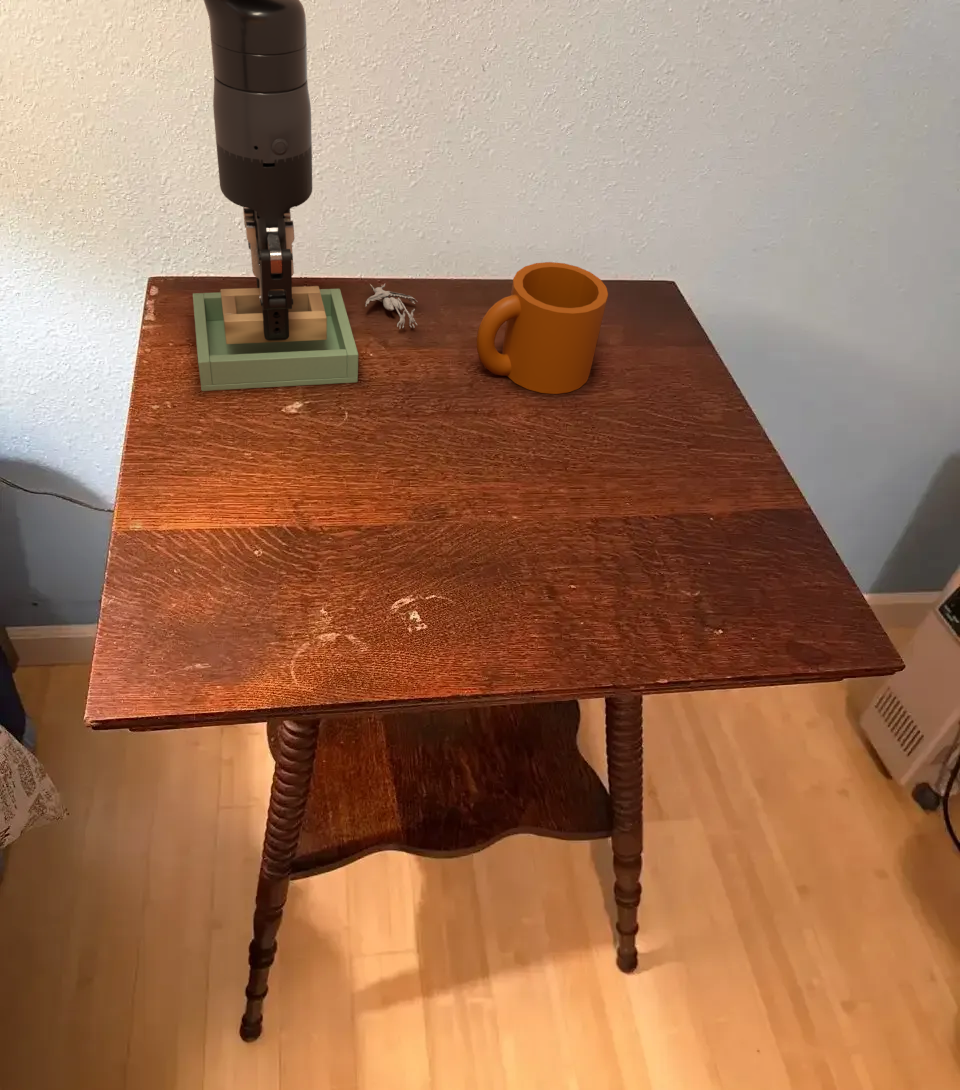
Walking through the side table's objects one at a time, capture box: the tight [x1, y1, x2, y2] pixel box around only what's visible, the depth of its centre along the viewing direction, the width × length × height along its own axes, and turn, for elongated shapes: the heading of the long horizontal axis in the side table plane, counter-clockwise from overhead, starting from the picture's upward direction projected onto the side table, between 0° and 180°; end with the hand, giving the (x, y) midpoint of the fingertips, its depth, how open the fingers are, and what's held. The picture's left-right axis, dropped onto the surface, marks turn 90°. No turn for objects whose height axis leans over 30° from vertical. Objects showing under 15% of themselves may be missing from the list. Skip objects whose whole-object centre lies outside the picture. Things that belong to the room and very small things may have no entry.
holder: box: [192, 288, 359, 392], centre depth 89 cm, size 14×12×3 cm
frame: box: [220, 285, 327, 344], centre depth 87 cm, size 9×6×2 cm, turn 104°
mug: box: [475, 261, 609, 395], centre depth 89 cm, size 9×12×9 cm
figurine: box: [365, 283, 418, 329], centre depth 96 cm, size 6×2×8 cm
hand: (273, 319), depth 88 cm, fingers closed on frame, 5 cm apart
